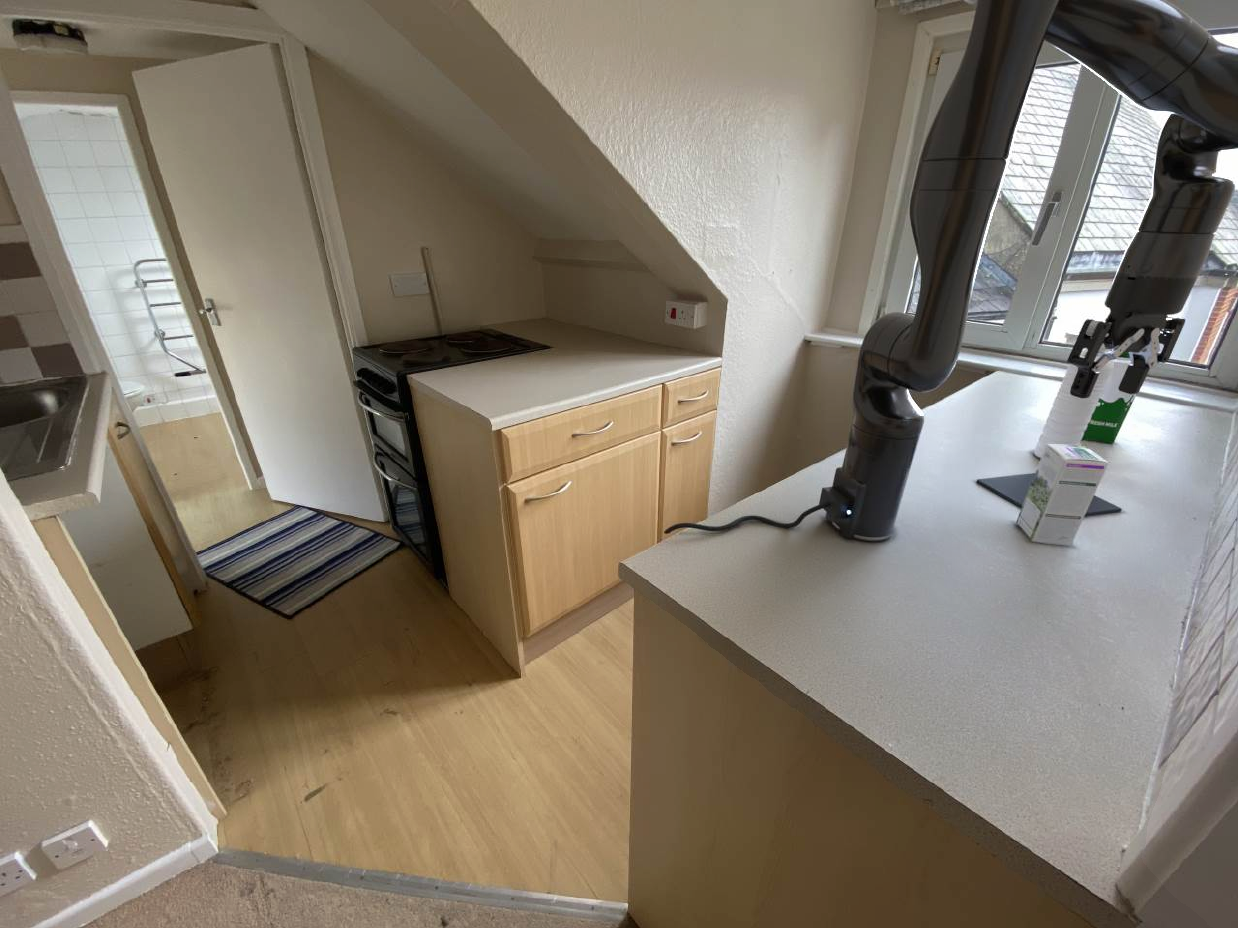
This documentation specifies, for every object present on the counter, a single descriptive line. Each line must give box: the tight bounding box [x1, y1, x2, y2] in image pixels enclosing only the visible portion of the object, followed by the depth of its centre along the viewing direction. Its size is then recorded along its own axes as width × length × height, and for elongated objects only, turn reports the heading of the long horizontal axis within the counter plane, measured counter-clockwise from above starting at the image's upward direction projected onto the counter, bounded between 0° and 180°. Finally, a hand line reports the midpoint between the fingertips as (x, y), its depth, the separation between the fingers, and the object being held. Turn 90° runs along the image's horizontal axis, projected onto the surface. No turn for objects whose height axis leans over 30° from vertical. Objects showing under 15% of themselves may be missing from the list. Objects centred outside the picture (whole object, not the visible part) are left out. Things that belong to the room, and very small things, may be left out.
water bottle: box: [1033, 331, 1114, 459], centre depth 105 cm, size 9×6×25 cm
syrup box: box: [1015, 444, 1109, 547], centre depth 81 cm, size 6×6×14 cm
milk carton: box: [1081, 353, 1152, 444], centre depth 116 cm, size 9×9×20 cm
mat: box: [976, 472, 1123, 517], centre depth 95 cm, size 16×14×1 cm
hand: (1103, 394), depth 73 cm, fingers open, 8 cm apart
